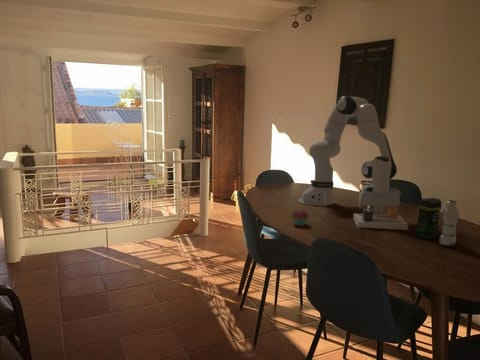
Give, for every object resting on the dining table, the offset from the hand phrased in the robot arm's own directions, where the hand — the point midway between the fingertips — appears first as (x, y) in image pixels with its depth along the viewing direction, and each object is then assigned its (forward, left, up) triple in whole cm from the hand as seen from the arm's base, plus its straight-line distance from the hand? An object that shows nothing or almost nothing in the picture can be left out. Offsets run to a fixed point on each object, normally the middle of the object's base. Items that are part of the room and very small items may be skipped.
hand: (378, 213), depth 210 cm
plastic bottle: (+23, -34, -5) cm, 41 cm away
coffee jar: (+18, -23, -5) cm, 29 cm away
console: (0, -5, -5) cm, 7 cm away
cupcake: (-41, -13, -5) cm, 43 cm away
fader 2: (+7, 0, -1) cm, 8 cm away
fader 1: (-7, -9, -1) cm, 12 cm away
